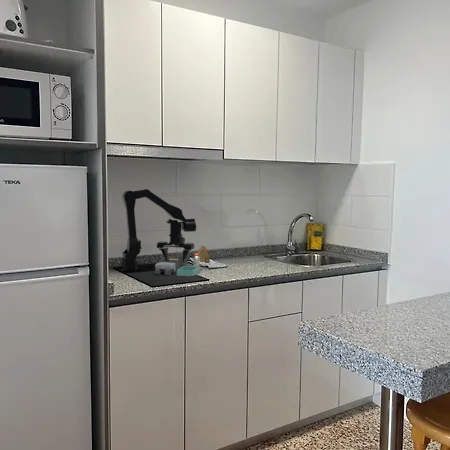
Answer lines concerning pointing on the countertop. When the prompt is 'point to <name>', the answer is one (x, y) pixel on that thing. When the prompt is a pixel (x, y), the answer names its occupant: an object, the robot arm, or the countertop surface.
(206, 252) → the rock
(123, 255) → the robot arm
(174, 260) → the block
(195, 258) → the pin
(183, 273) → the tray
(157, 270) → the trolley
